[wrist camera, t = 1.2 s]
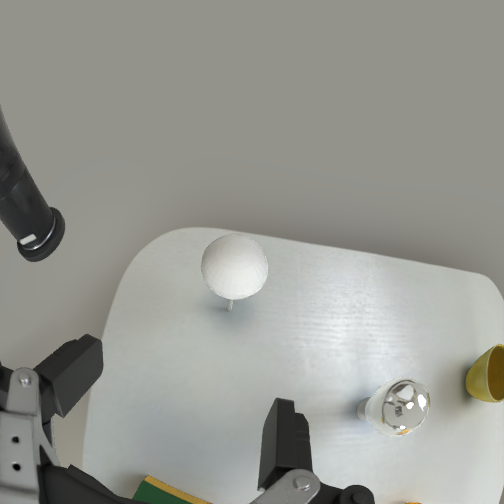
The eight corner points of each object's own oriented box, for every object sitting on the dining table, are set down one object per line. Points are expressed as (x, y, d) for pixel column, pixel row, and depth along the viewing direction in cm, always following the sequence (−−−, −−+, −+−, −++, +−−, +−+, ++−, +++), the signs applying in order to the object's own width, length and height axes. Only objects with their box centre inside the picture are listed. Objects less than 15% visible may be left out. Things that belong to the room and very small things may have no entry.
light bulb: (387, 423, 28) (446, 421, 18) (344, 439, 27) (397, 449, 16) (379, 379, 31) (436, 363, 21) (336, 392, 30) (387, 384, 20)
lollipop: (261, 315, 35) (288, 259, 22) (225, 341, 32) (229, 298, 20) (233, 280, 37) (243, 209, 24) (197, 303, 35) (185, 240, 22)
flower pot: (475, 416, 27) (504, 411, 21) (449, 393, 30) (480, 386, 24) (490, 371, 32) (516, 361, 26) (466, 345, 34) (494, 333, 28)
